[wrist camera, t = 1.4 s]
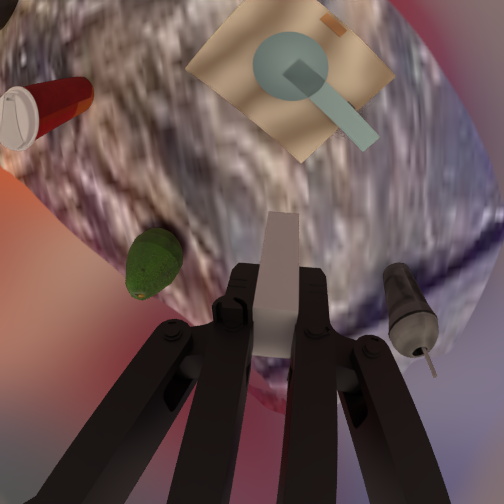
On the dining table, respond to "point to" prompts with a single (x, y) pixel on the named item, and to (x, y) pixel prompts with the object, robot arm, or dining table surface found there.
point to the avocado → (152, 263)
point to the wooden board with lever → (273, 109)
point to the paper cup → (41, 109)
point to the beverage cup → (409, 314)
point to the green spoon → (307, 81)
